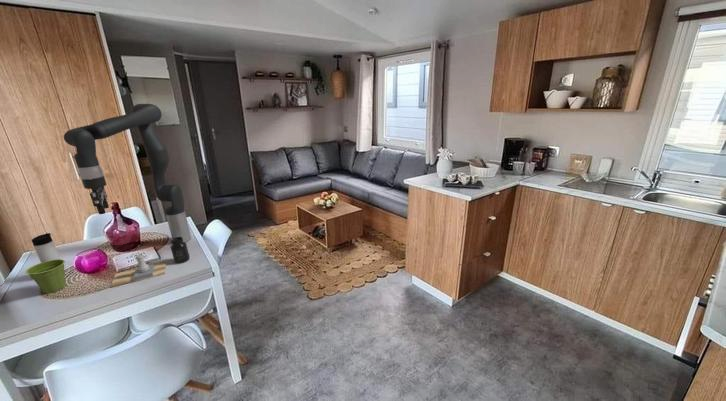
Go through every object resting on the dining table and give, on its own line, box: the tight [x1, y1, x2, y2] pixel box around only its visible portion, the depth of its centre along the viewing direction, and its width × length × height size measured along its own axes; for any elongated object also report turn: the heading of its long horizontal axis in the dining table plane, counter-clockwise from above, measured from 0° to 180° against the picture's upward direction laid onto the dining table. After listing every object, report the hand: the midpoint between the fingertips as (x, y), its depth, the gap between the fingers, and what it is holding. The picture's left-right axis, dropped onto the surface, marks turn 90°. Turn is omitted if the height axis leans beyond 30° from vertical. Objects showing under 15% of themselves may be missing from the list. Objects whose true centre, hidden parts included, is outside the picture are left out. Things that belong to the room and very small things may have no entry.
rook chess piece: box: [135, 253, 149, 273], centre depth 136 cm, size 4×4×8 cm
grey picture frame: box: [133, 263, 154, 281], centre depth 137 cm, size 2×7×9 cm
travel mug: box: [31, 232, 66, 273], centre depth 138 cm, size 6×7×20 cm
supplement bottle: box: [170, 237, 191, 264], centre depth 148 cm, size 7×7×12 cm
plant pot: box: [25, 258, 67, 294], centre depth 128 cm, size 12×12×11 cm
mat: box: [110, 261, 167, 289], centre depth 138 cm, size 12×20×1 cm, turn 120°
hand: (104, 210), depth 134 cm, fingers open, 8 cm apart
